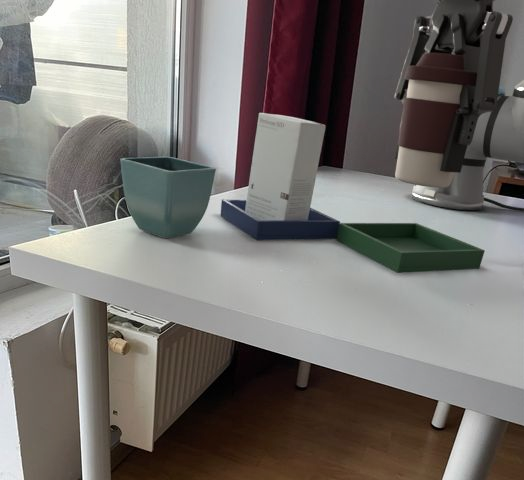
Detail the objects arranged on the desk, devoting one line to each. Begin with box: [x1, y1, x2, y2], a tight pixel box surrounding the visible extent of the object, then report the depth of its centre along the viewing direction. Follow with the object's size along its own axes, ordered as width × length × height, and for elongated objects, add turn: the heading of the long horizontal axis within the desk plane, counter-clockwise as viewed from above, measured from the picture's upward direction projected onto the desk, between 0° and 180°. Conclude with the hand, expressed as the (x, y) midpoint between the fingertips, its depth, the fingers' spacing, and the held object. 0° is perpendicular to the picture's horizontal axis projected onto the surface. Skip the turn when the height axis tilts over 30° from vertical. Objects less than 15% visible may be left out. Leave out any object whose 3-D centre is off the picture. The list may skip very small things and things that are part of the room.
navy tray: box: [220, 198, 341, 241], centre depth 83 cm, size 13×13×3 cm
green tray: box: [335, 222, 485, 274], centre depth 77 cm, size 14×14×3 cm
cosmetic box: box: [245, 112, 327, 221], centre depth 80 cm, size 8×6×15 cm
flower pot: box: [119, 156, 217, 239], centre depth 72 cm, size 9×9×9 cm
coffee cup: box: [394, 53, 477, 188], centre depth 70 cm, size 10×10×15 cm
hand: (426, 165), depth 72 cm, fingers closed on coffee cup, 8 cm apart
